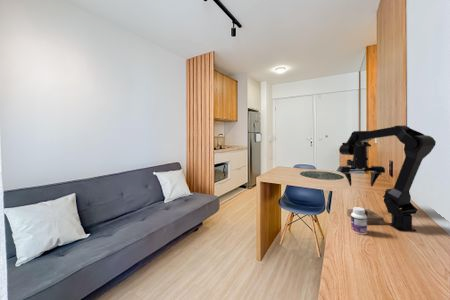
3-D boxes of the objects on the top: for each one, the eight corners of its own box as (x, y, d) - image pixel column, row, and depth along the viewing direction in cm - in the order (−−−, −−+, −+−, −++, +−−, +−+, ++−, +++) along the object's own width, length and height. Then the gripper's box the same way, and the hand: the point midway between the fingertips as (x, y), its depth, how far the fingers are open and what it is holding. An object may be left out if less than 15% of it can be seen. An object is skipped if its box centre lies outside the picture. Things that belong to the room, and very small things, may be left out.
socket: (383, 224, 84) (383, 217, 84) (359, 224, 85) (359, 217, 85) (368, 215, 94) (368, 209, 94) (347, 215, 95) (347, 209, 95)
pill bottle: (351, 227, 82) (351, 205, 82) (367, 230, 79) (367, 207, 78) (350, 232, 78) (350, 209, 78) (366, 236, 75) (366, 212, 74)
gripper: (375, 154, 102) (375, 183, 102) (335, 154, 108) (336, 182, 108) (385, 155, 91) (385, 187, 92) (340, 156, 97) (341, 186, 98)
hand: (360, 185), depth 98 cm, fingers open, 9 cm apart
